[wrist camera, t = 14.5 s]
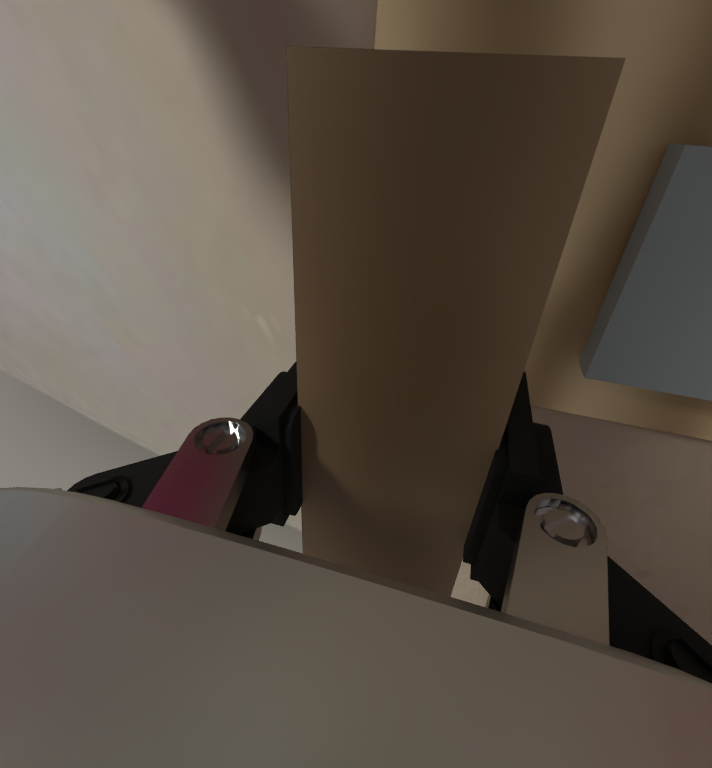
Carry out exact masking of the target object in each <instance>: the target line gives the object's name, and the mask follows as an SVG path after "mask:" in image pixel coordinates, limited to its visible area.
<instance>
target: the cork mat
mask: <svg viewBox="0 0 712 768" xmlns="http://www.w3.org/2000/svg"><path fill="white" fill-rule="evenodd" d="M374 49H382V50H411V51H440V52H469V53H498V54H527V55H556V56H585V57H614V58H626V59H625V62H624V65H623V68H622V71H621V74H620V77H619V81H618V84H617V87H616V90H615V93H614V96H613V99H612V102H611V105H610V108H609V111H608V114H607V117H606V120H605V123H604V127H603V130H602V133H601V136H600V139H599V142H598V145H597V148H596V151H595V154H594V157H593V160H592V163H591V166H590V170H589V173H588V176H587V179H586V182H585V185H584V188H583V191H582V194H581V197H580V200H579V203H578V206H577V209H576V212H575V216H574V219H573V222H572V225H571V228H570V231H569V234H568V237H567V240H566V243H565V246H564V249H563V252H562V255H561V258H560V262H559V265H558V268H557V271H556V274H555V277H554V280H553V283H552V286H551V289H550V292H549V295H548V298H547V301H546V304H545V308H544V311H543V314H542V317H541V320H540V323H539V326H538V329H537V332H536V335H535V338H534V341H533V344H532V347H531V350H530V354H529V357H528V360H527V363H526V366H525V369H524V371H525V372H526V377H527V384H528V391H529V398H530V406H535V407H541V408H546V409H551V410H556V411H561V412H566V413H571V414H576V415H582V416H587V417H592V418H597V419H602V420H607V421H612V422H617V423H622V424H628V425H633V426H638V427H643V428H648V429H653V430H658V431H663V432H668V433H674V434H679V435H684V436H689V437H694V438H699V439H704V440H709V441H712V401H710V400H704V399H699V398H693V397H688V396H682V395H676V394H671V393H665V392H660V391H654V390H649V389H643V388H637V387H632V386H626V385H621V384H615V383H610V382H604V381H598V380H593V379H587V378H584V375H583V373H582V370H581V367H580V364H579V360H580V357H581V355H582V352H583V350H584V348H585V345H586V343H587V340H588V338H589V336H590V333H591V331H592V328H593V326H594V323H595V321H596V319H597V316H598V314H599V311H600V309H601V307H602V304H603V302H604V299H605V297H606V294H607V292H608V290H609V287H610V285H611V282H612V280H613V278H614V275H615V273H616V270H617V268H618V265H619V263H620V261H621V258H622V256H623V253H624V251H625V249H626V246H627V244H628V241H629V239H630V236H631V234H632V232H633V229H634V227H635V224H636V222H637V220H638V217H639V215H640V212H641V210H642V207H643V205H644V203H645V200H646V198H647V195H648V193H649V191H650V188H651V186H652V183H653V181H654V179H655V176H656V174H657V171H658V169H659V166H660V164H661V162H662V159H663V157H664V154H665V152H666V150H667V147H668V145H669V143H679V144H692V145H705V146H712V0H378V3H377V18H376V33H375V48H374Z"/></svg>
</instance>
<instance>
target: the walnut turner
mask: <svg viewBox="0 0 712 768" xmlns="http://www.w3.org/2000/svg"><path fill="white" fill-rule="evenodd" d="M286 54H287V85H288V115H289V146H290V176H291V207H292V238H293V268H294V299H295V329H296V360H297V390H298V406H301V443H302V495H303V503H302V505H301V512H302V543H303V554H306V555H309V556H312V557H316V558H319V559H323V560H326V561H330V562H333V563H336V564H340V565H343V566H347V567H350V568H354V569H357V570H360V571H364V572H367V573H371V574H374V575H377V576H381V577H384V578H388V579H391V580H395V581H398V582H401V583H405V584H408V585H412V586H415V587H418V588H422V589H425V590H428V591H432V592H435V593H438V594H442V595H445V596H449V597H450V596H451V593H452V590H453V587H454V584H455V580H456V577H457V574H458V571H459V568H460V565H461V562H462V559H463V551H464V544H465V541H466V538H467V535H468V532H469V529H470V526H471V523H472V520H473V517H474V514H475V511H476V508H477V505H478V502H479V499H480V496H481V493H482V490H483V487H484V484H485V481H486V478H487V475H488V472H489V469H490V466H491V463H492V460H493V457H494V454H495V451H496V450H498V449H499V446H500V442H501V439H502V436H503V433H504V430H505V427H506V424H507V421H508V418H509V415H510V412H511V409H512V406H513V403H514V400H515V396H516V393H517V390H518V387H519V384H520V381H521V378H522V375H523V372H524V369H525V366H526V363H527V360H528V357H529V354H530V350H531V347H532V344H533V341H534V338H535V335H536V332H537V329H538V326H539V323H540V320H541V317H542V314H543V311H544V308H545V304H546V301H547V298H548V295H549V292H550V289H551V286H552V283H553V280H554V277H555V274H556V271H557V268H558V265H559V262H560V258H561V255H562V252H563V249H564V246H565V243H566V240H567V237H568V234H569V231H570V228H571V225H572V222H573V219H574V216H575V212H576V209H577V206H578V203H579V200H580V197H581V194H582V191H583V188H584V185H585V182H586V179H587V176H588V173H589V170H590V166H591V163H592V160H593V157H594V154H595V151H596V148H597V145H598V142H599V139H600V136H601V133H602V130H603V127H604V123H605V120H606V117H607V114H608V111H609V108H610V105H611V102H612V99H613V96H614V93H615V90H616V87H617V84H618V81H619V77H620V74H621V71H622V68H623V65H624V62H625V59H626V58H614V57H585V56H556V55H527V54H498V53H469V52H440V51H411V50H382V49H353V48H324V47H295V46H286Z"/></svg>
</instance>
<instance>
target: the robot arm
mask: <svg viewBox="0 0 712 768" xmlns="http://www.w3.org/2000/svg"><path fill="white" fill-rule="evenodd" d="M302 503H303V495H302V443H301V406H298V390H297V361H296V362H295V363H294V364H293V366H292V367H291V368H290V369H289V371H288V372H281V373H279V374H278V375H277V377H276V378H275V379H274V380H273V381H272V383H271V384H270V385H269V386H268V387H267V388H266V390H265V391H264V392H263V393H262V394H261V396H260V397H259V398H258V399H257V400H256V401H255V403H254V404H253V405H252V406H251V407H250V409H249V410H248V411H247V412H246V413H245V414H244V416H243V417H242V418H241V419H235V418H216V419H211V420H209V421H206V422H203V423H201V424H200V425H198V426H197V427H195V428H194V429H193V430H192V431H191V432H190V433H189V435H188V436H187V438H186V439H185V441H184V442H183V444H182V446H181V447H180V449H179V450H178V451H176V452H172V453H169V454H165V455H162V456H158V457H155V458H151V459H148V460H144V461H140V462H137V463H133V464H130V465H126V466H123V467H119V468H116V469H112V470H108V471H105V472H101V473H97V474H95V475H92V476H89V477H87V478H84V479H83V480H81V481H79V482H78V483H76V484H74V485H73V486H72V487H71V488H70V489H69V490H67V491H64V490H62V489H61V488H57V489H48V488H27V487H13V488H0V768H712V645H710V644H709V643H708V642H707V641H706V640H705V639H703V638H702V637H701V636H700V635H699V634H698V633H696V632H695V631H694V630H693V629H692V628H691V627H689V626H688V625H687V624H686V623H685V622H684V621H683V620H681V619H680V618H679V617H678V616H677V615H676V614H674V613H673V612H672V611H671V610H670V609H669V608H667V607H666V606H665V605H664V604H663V603H662V602H661V601H659V600H658V599H657V598H656V597H655V596H654V595H652V594H651V593H650V592H649V591H648V590H647V589H645V588H644V587H643V586H642V585H641V584H640V583H638V582H637V581H636V580H635V579H634V578H633V577H632V576H630V575H629V574H628V573H627V572H626V571H625V570H623V569H622V568H621V567H620V566H619V565H618V564H616V563H615V562H614V561H613V560H612V559H611V558H610V557H608V556H607V536H606V532H605V528H604V526H603V524H602V523H601V521H600V519H599V518H598V517H597V516H596V515H595V514H594V513H593V512H592V511H591V510H590V509H589V508H588V507H586V506H585V505H583V504H582V503H580V502H579V501H577V500H574V499H572V498H570V497H568V496H565V495H563V491H562V486H561V480H560V475H559V470H558V465H557V460H556V454H555V449H554V444H553V439H552V434H551V430H550V427H549V426H547V425H543V424H538V423H533V420H532V413H531V406H530V398H529V391H528V384H527V377H526V372H525V371H524V372H523V375H522V378H521V381H520V384H519V387H518V390H517V393H516V396H515V400H514V403H513V406H512V409H511V412H510V415H509V418H508V421H507V424H506V427H505V430H504V433H503V436H502V439H501V442H500V446H499V449H498V450H496V451H495V454H494V457H493V460H492V463H491V466H490V469H489V472H488V475H487V478H486V481H485V484H484V487H483V490H482V493H481V496H480V499H479V502H478V505H477V508H476V511H475V514H474V517H473V520H472V523H471V526H470V529H469V532H468V535H467V538H466V541H465V544H464V551H463V562H465V563H469V564H471V575H470V579H472V580H475V581H479V582H480V584H481V585H482V586H483V587H484V588H485V590H486V591H487V592H488V593H489V596H488V599H487V603H486V607H482V606H479V605H475V604H472V603H469V602H465V601H462V600H459V599H455V598H452V597H449V596H445V595H442V594H438V593H435V592H432V591H428V590H425V589H422V588H418V587H415V586H412V585H408V584H405V583H401V582H398V581H395V580H391V579H388V578H384V577H381V576H377V575H374V574H371V573H367V572H364V571H360V570H357V569H354V568H350V567H347V566H343V565H340V564H336V563H333V562H330V561H326V560H323V559H319V558H316V557H312V556H309V555H306V554H302V553H299V552H295V551H292V550H288V549H285V548H281V547H278V546H275V545H271V544H268V543H264V542H261V541H259V538H260V535H261V530H262V526H264V525H267V524H269V523H273V524H276V525H280V526H284V525H285V523H286V521H287V519H288V517H289V515H294V516H295V515H296V514H297V513H298V511H299V509H300V507H301V505H302Z"/></svg>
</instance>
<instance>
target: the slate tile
mask: <svg viewBox="0 0 712 768" xmlns="http://www.w3.org/2000/svg"><path fill="white" fill-rule="evenodd" d="M579 364H580V367H581V370H582V373H583V375H584V378H587V379H593V380H598V381H604V382H610V383H615V384H621V385H626V386H632V387H637V388H643V389H649V390H654V391H660V392H665V393H671V394H676V395H682V396H688V397H693V398H699V399H704V400H710V401H712V146H705V145H692V144H679V143H669V145H668V147H667V150H666V152H665V154H664V157H663V159H662V162H661V164H660V166H659V169H658V171H657V174H656V176H655V179H654V181H653V183H652V186H651V188H650V191H649V193H648V195H647V198H646V200H645V203H644V205H643V207H642V210H641V212H640V215H639V217H638V220H637V222H636V224H635V227H634V229H633V232H632V234H631V236H630V239H629V241H628V244H627V246H626V249H625V251H624V253H623V256H622V258H621V261H620V263H619V265H618V268H617V270H616V273H615V275H614V278H613V280H612V282H611V285H610V287H609V290H608V292H607V294H606V297H605V299H604V302H603V304H602V307H601V309H600V311H599V314H598V316H597V319H596V321H595V323H594V326H593V328H592V331H591V333H590V336H589V338H588V340H587V343H586V345H585V348H584V350H583V352H582V355H581V357H580V360H579Z"/></svg>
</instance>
